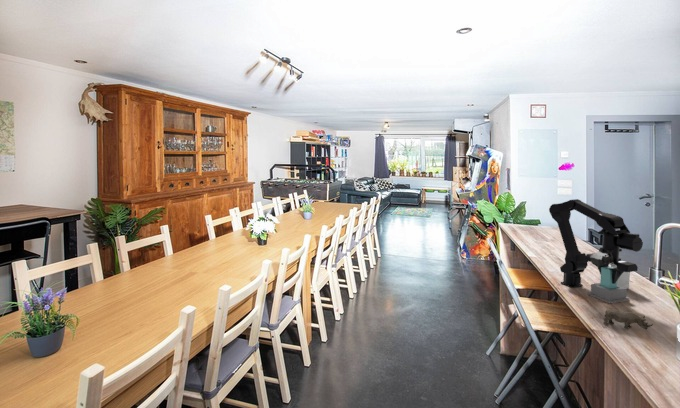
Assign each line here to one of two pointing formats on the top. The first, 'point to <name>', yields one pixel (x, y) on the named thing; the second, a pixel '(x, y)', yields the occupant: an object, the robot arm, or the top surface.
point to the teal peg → (607, 278)
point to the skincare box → (623, 278)
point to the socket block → (608, 293)
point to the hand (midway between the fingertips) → (608, 281)
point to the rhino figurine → (625, 318)
